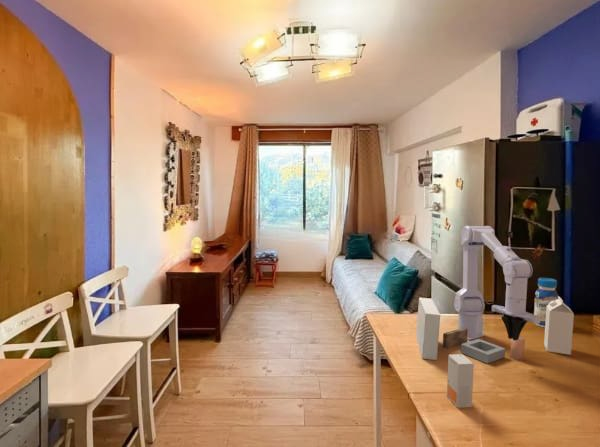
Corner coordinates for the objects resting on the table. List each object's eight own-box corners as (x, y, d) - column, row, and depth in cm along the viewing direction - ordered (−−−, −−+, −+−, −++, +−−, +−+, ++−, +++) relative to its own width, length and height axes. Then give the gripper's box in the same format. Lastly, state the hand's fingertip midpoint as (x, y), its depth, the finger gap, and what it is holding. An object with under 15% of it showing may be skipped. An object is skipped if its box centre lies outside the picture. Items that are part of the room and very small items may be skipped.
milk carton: (566, 348, 139) (570, 297, 138) (571, 355, 133) (574, 302, 131) (543, 344, 142) (547, 294, 141) (547, 351, 136) (550, 299, 134)
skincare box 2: (445, 395, 105) (447, 354, 104) (460, 395, 106) (462, 353, 105) (456, 408, 99) (458, 364, 98) (472, 407, 100) (474, 363, 99)
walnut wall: (463, 340, 145) (464, 327, 145) (466, 341, 144) (467, 328, 144) (442, 346, 139) (443, 333, 139) (446, 348, 138) (446, 334, 137)
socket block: (478, 346, 139) (478, 338, 139) (504, 357, 130) (505, 348, 130) (460, 352, 134) (461, 344, 133) (487, 363, 125) (487, 354, 125)
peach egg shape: (514, 354, 133) (515, 335, 132) (526, 358, 130) (527, 338, 129) (507, 356, 131) (509, 337, 130) (519, 361, 128) (520, 341, 127)
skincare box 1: (438, 361, 127) (440, 314, 126) (421, 359, 128) (423, 313, 127) (430, 337, 148) (432, 297, 147) (415, 336, 149) (417, 296, 148)
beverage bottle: (556, 324, 165) (559, 278, 163) (556, 329, 158) (559, 282, 156) (533, 320, 169) (536, 276, 168) (532, 325, 162) (535, 279, 160)
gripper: (487, 293, 126) (484, 333, 127) (532, 305, 113) (529, 349, 114) (499, 291, 129) (497, 330, 130) (545, 301, 117) (542, 344, 118)
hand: (513, 338), depth 123 cm, fingers closed
